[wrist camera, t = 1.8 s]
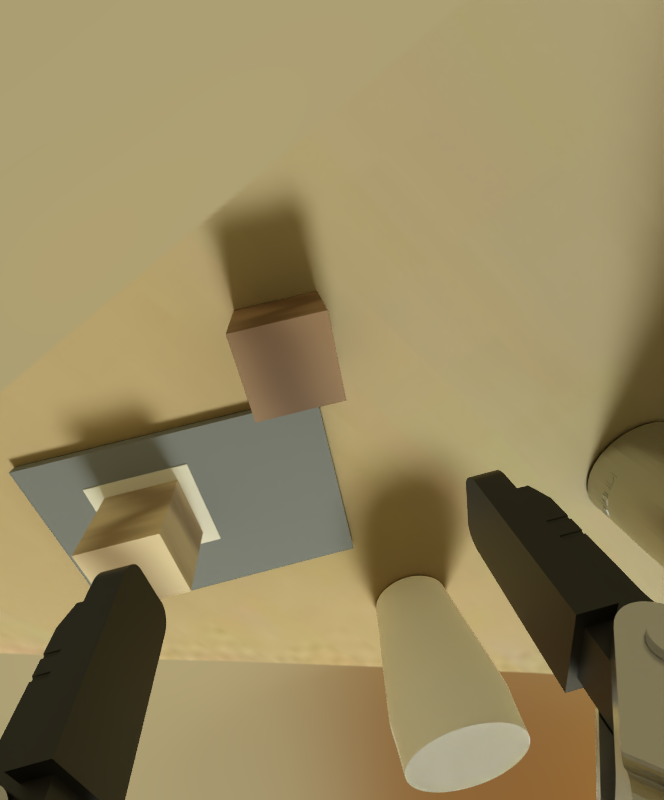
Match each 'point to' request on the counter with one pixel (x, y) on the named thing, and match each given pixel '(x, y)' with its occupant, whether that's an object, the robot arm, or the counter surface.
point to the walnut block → (286, 356)
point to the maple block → (144, 538)
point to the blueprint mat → (211, 489)
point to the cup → (443, 692)
